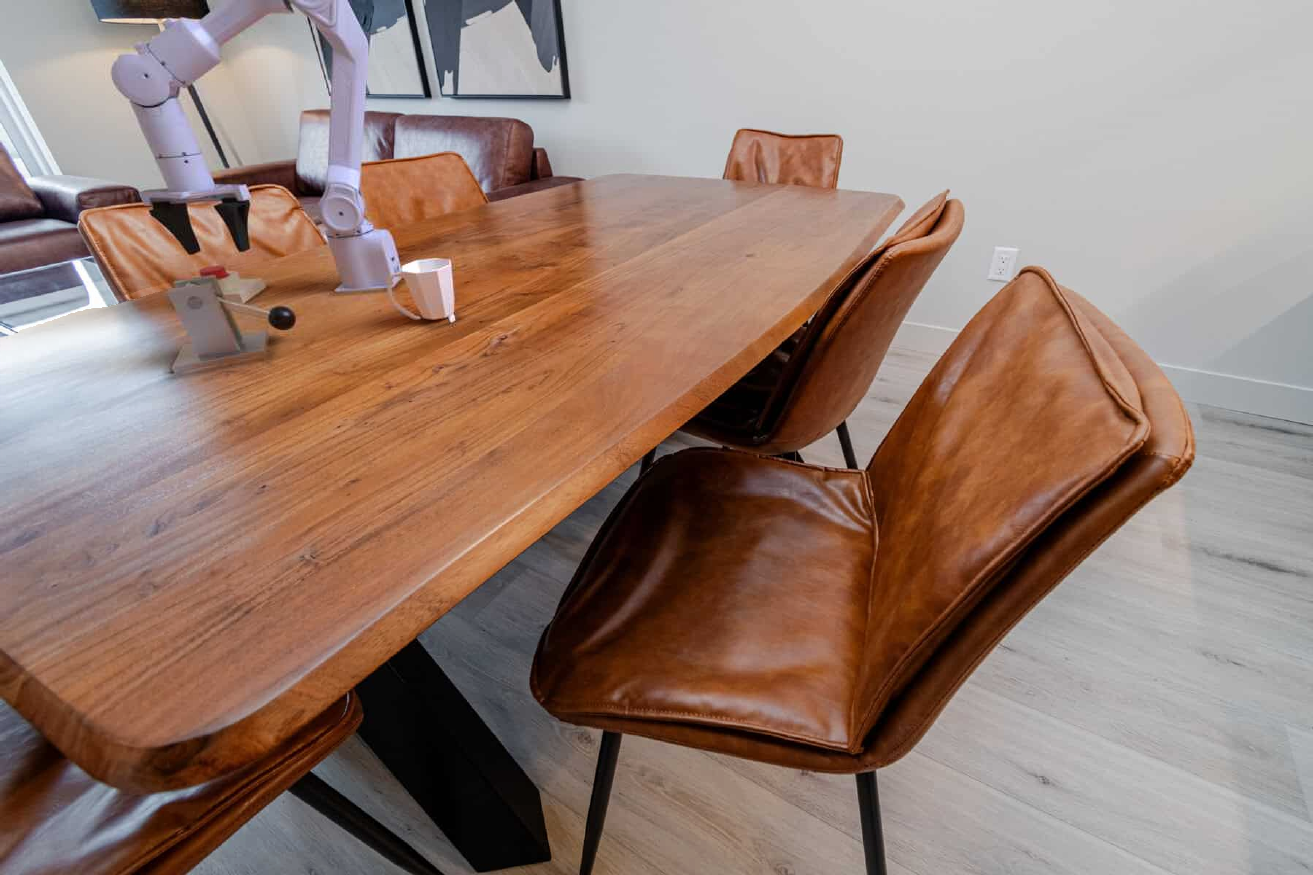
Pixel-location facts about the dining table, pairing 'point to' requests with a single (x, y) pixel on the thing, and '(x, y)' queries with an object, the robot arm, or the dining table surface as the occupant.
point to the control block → (240, 287)
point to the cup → (427, 288)
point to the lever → (261, 312)
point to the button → (214, 272)
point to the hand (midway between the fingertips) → (219, 251)
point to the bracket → (210, 327)
